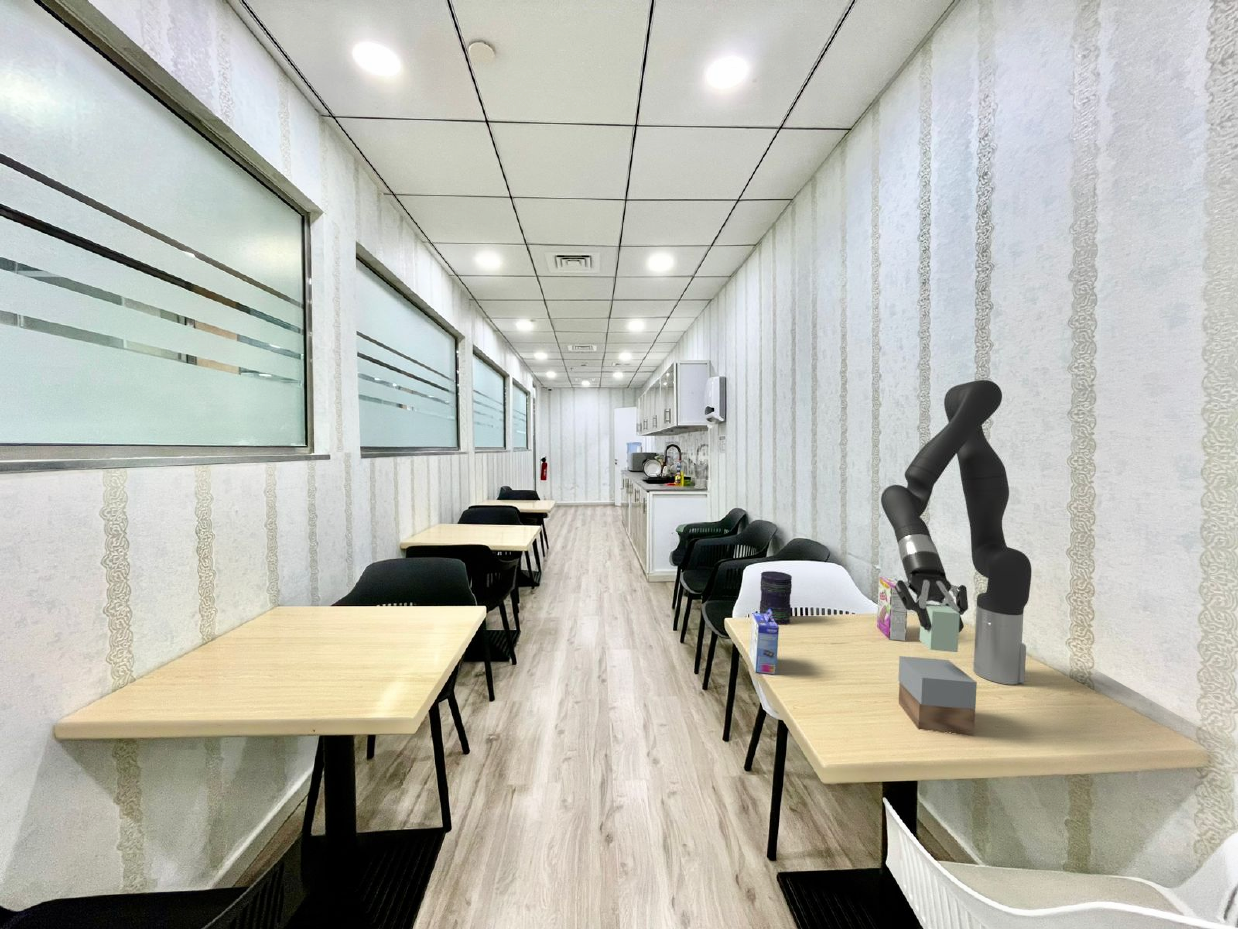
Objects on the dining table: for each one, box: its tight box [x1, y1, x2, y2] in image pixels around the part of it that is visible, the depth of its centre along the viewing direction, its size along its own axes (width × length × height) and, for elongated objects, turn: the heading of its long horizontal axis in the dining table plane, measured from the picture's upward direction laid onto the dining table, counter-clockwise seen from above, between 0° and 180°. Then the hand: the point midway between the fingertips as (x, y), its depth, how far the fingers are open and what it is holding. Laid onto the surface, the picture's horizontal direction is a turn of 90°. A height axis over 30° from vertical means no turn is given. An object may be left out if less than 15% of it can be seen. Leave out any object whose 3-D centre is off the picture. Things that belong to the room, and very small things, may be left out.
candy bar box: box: [876, 576, 908, 642], centre depth 145 cm, size 11×5×16 cm, turn 168°
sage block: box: [919, 603, 961, 653], centre depth 98 cm, size 5×5×8 cm
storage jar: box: [759, 570, 793, 626], centre depth 155 cm, size 10×10×15 cm
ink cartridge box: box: [748, 609, 780, 675], centre depth 121 cm, size 10×6×14 cm, turn 174°
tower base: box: [898, 681, 976, 737], centre depth 98 cm, size 10×10×6 cm
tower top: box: [898, 655, 978, 710], centre depth 98 cm, size 10×10×6 cm
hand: (943, 629), depth 96 cm, fingers closed on sage block, 5 cm apart
